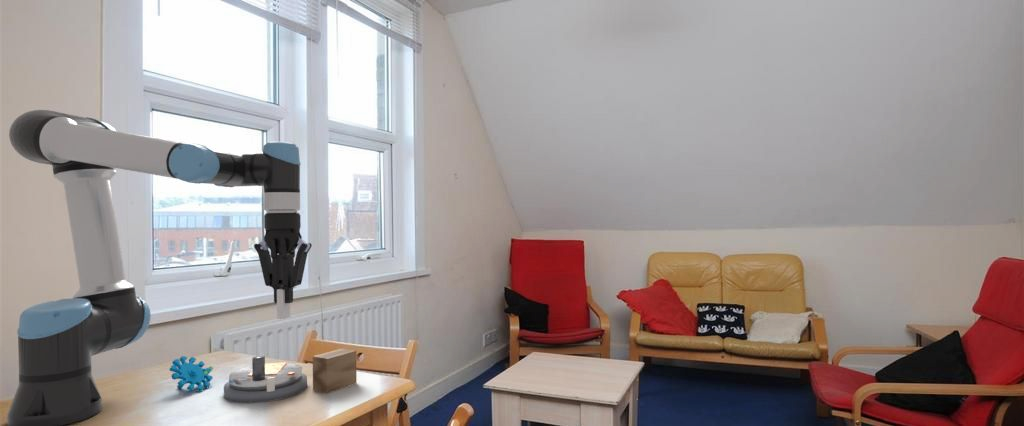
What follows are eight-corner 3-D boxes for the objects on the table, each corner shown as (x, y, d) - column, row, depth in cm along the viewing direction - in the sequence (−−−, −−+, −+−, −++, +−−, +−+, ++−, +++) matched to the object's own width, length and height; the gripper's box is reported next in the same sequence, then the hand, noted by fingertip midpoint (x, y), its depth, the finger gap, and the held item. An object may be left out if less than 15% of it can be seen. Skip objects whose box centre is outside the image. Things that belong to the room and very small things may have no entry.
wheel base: (207, 394, 130) (207, 372, 130) (275, 375, 146) (275, 355, 146) (256, 407, 121) (256, 384, 121) (323, 385, 136) (323, 364, 136)
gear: (184, 390, 128) (166, 356, 131) (169, 407, 128) (150, 373, 132) (224, 383, 138) (206, 351, 141) (209, 399, 139) (191, 367, 142)
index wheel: (214, 383, 130) (214, 353, 130) (274, 367, 144) (273, 340, 144) (257, 394, 122) (257, 362, 122) (316, 376, 136) (316, 347, 136)
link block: (312, 390, 133) (312, 356, 133) (342, 380, 141) (341, 348, 141) (327, 393, 131) (327, 358, 131) (356, 383, 138) (356, 350, 138)
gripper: (318, 211, 128) (319, 315, 128) (266, 212, 131) (267, 314, 131) (299, 211, 121) (301, 321, 121) (245, 212, 123) (246, 320, 123)
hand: (283, 317), depth 126 cm, fingers closed
